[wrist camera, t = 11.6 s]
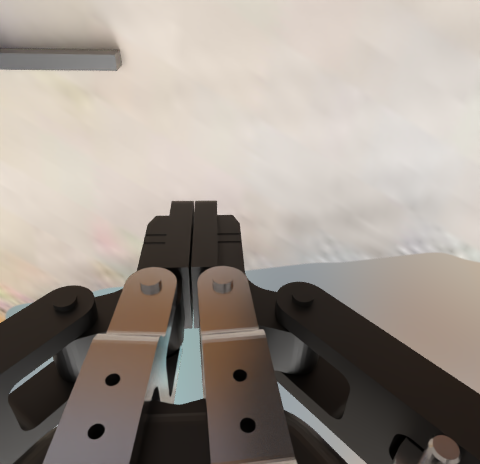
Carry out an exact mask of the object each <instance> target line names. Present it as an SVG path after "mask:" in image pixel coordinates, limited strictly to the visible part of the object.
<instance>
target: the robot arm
mask: <svg viewBox="0 0 480 464" xmlns="http://www.w3.org/2000/svg"><path fill="white" fill-rule="evenodd" d="M193 311H194V328H200V352H201V365H202V366H201V367H202V382H203V396H204V399H200V400H197V401H193V402H189V403H186V404H182V405H176V404H174V398H175V392H176V386H177V380H178V374H179V367H180V362H181V356H182V342H183V338H184V329H186V328H192V321H193ZM52 356H53V359H54V361H53V362H51V363H50V364H49V365H47V366H46V367H45V368H43V369H42V370H41V371H39V372H38V373H37V374H35V375H34V376H33V377H31V378H30V379H29V380H27V381H26V382H25V383H23V384H22V385H21V386H20V387H18V388H17V389H16V390H14V391H13V392H12V393H10V391H11V389H12V388H13V387H14V385H15V384H16V383H18V382H19V381H20V380H21V379H23V378H24V377H25V376H27V375H28V374H29V373H31V372H32V371H33V370H35V369H36V368H37V367H39V366H40V365H42V364H43V363H44V362H46V361H47V360H48V359H50V358H51V357H52ZM277 382H279V383H280V384H281V385H282V386H283V387H284V388H285V389H286V390H287V391H288V392H290V393H291V394H292V395H293V396H294V397H295V398H296V399H297V400H298V401H299V402H300V403H301V404H303V405H304V406H305V407H306V408H307V409H308V410H309V411H310V412H311V413H312V414H314V415H315V416H316V417H317V418H318V419H319V420H320V421H321V422H322V423H323V424H324V425H325V426H327V427H328V428H329V429H330V430H331V431H332V432H333V433H334V434H335V435H336V436H337V437H339V438H340V439H341V440H342V441H343V442H344V443H345V444H346V445H347V446H348V447H349V448H351V449H352V450H353V451H354V452H355V453H356V454H357V455H358V456H360V458H362V459H363V460H364V461H365V462H366V463H367V464H480V394H479V393H477V392H476V391H474V390H473V389H471V388H470V387H468V386H466V385H465V384H464V383H462V382H461V381H459V380H458V379H456V378H455V377H453V376H452V375H450V374H448V373H447V372H445V371H444V370H442V369H441V368H439V367H438V366H436V365H435V364H433V363H432V362H430V361H429V360H427V359H426V358H424V357H423V356H421V355H420V354H418V353H417V352H415V351H414V350H412V349H411V348H409V347H408V346H406V345H405V344H403V343H402V342H400V341H399V340H397V339H396V338H394V337H393V336H391V335H390V334H388V333H387V332H385V331H384V330H382V329H381V328H379V327H378V326H376V325H375V324H373V323H372V322H370V321H369V320H367V319H366V318H364V317H363V316H361V315H360V314H358V313H357V312H355V311H354V310H352V309H351V308H349V307H348V306H346V305H345V304H343V303H341V302H340V301H339V300H337V299H336V298H334V297H333V296H331V295H330V294H328V293H326V292H325V291H324V290H322V289H320V288H319V287H317V286H315V285H313V284H310V283H306V282H292V283H288V284H286V285H284V286H282V287H281V288H280V289H279V290H278V292H274V291H269V290H265V289H262V288H260V287H258V286H256V285H254V284H253V283H251V282H250V281H249V280H248V278H247V277H246V275H245V270H244V260H243V250H242V241H241V231H240V223H239V222H238V221H237V220H236V219H235V217H234V216H233V215H217V201H195V212H194V201H172V203H171V209H170V215H169V216H156V217H155V218H154V219H153V220H152V221H151V222H150V223H149V224H148V226H147V230H146V234H145V238H144V244H143V247H142V251H141V256H140V260H139V264H138V268H137V271H136V272H135V273H133V274H132V275H131V276H129V278H128V279H127V280H126V282H125V285H124V287H123V289H121V290H119V291H116V292H114V293H110V294H107V295H103V296H98V297H94V295H93V293H92V292H91V291H90V290H89V289H87V288H85V287H82V286H66V287H61V288H58V289H56V290H53V291H52V292H50V293H48V294H46V295H45V296H43V297H42V298H40V299H38V300H37V301H35V302H34V303H32V304H30V305H29V306H27V307H26V308H24V309H22V310H21V311H19V312H18V313H16V314H14V315H13V316H11V317H9V318H8V319H6V320H5V321H3V322H1V323H0V464H348V463H346V462H345V460H344V459H343V458H341V456H339V454H338V453H337V452H335V450H334V449H332V447H331V446H330V445H329V444H328V443H327V442H326V441H325V440H324V439H323V438H322V437H321V436H320V435H319V434H318V433H317V432H316V431H315V430H314V429H313V428H311V427H310V426H309V425H308V424H306V423H305V422H304V421H302V420H301V419H299V418H298V417H296V416H295V415H293V414H291V413H289V412H287V411H285V410H284V409H283V406H282V401H281V397H280V393H279V389H278V384H277ZM9 393H10V394H9ZM57 425H58V426H57ZM56 426H57V427H56ZM54 427H55V428H54ZM53 428H54V429H53Z"/></svg>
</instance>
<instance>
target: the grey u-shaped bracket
mask: <svg viewBox="0 0 480 464" xmlns="http://www.w3.org/2000/svg"><path fill="white" fill-rule="evenodd" d="M120 66H121V57H120V50H92V49H19V48H0V69H8V70H100V71H117V70H118V69H119V68H120Z"/></svg>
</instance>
